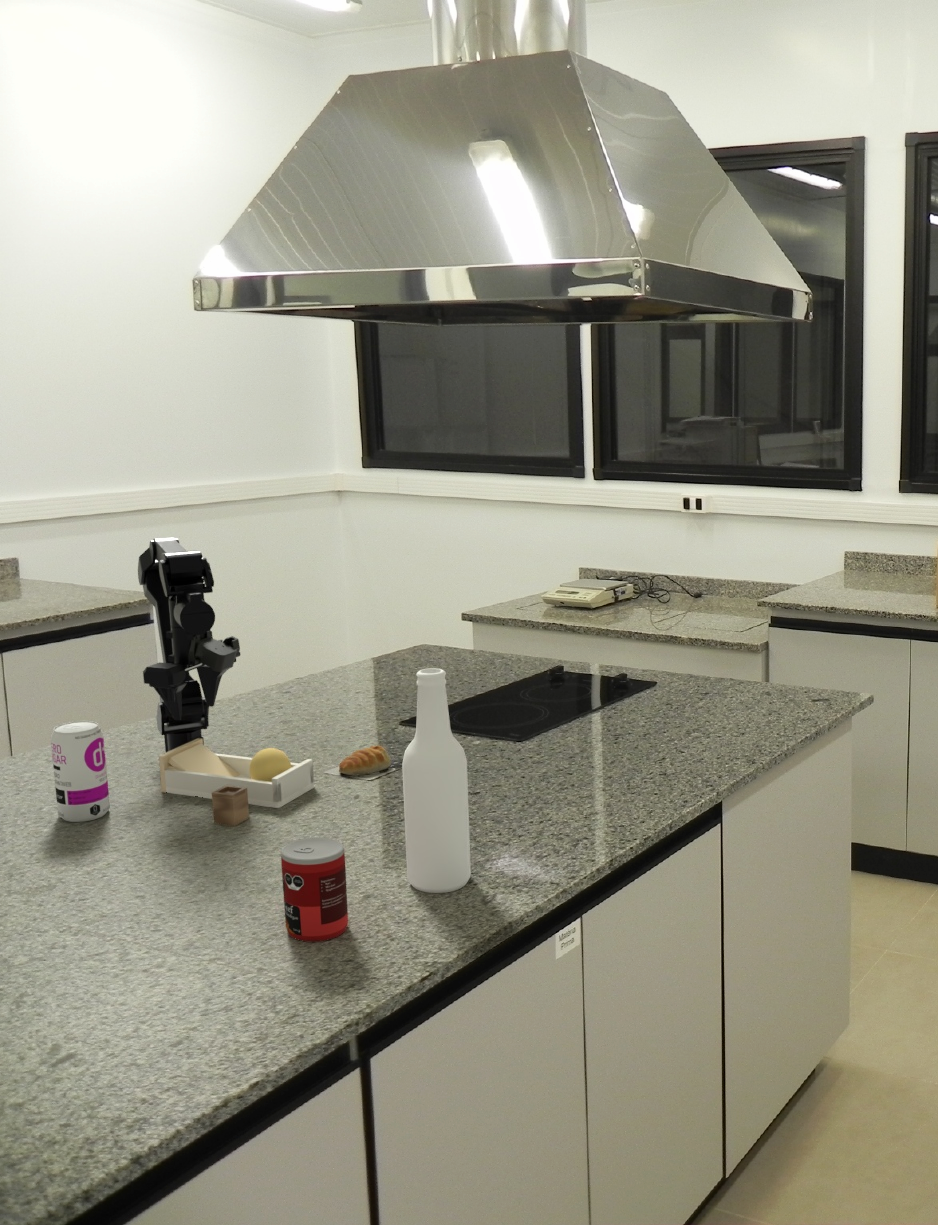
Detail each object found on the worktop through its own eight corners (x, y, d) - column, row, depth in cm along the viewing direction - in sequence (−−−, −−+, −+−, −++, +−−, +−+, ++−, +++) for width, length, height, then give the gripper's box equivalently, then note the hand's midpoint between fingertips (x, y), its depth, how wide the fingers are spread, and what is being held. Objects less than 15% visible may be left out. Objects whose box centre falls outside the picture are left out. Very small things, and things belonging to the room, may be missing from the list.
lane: (161, 791, 210) (158, 755, 209) (200, 772, 220) (198, 738, 219) (278, 808, 200) (276, 770, 199) (314, 787, 210) (312, 751, 209)
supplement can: (120, 808, 203) (112, 721, 200) (89, 825, 195) (81, 735, 192) (79, 804, 206) (71, 718, 203) (47, 821, 198) (38, 732, 195)
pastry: (354, 781, 214) (353, 760, 213) (330, 773, 218) (328, 753, 218) (394, 767, 220) (393, 747, 219) (369, 760, 225) (368, 740, 224)
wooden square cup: (213, 823, 194) (211, 792, 193) (228, 814, 198) (226, 784, 197) (234, 826, 193) (232, 795, 192) (249, 817, 196) (247, 787, 195)
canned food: (287, 918, 159) (282, 838, 157) (349, 914, 159) (344, 835, 157) (283, 945, 151) (278, 861, 149) (348, 940, 152) (343, 857, 150)
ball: (257, 798, 203) (246, 758, 202) (254, 790, 209) (243, 752, 209) (297, 785, 204) (287, 746, 204) (293, 779, 211) (283, 740, 210)
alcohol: (406, 871, 173) (397, 665, 167) (468, 867, 174) (461, 662, 168) (408, 896, 164) (398, 680, 159) (473, 892, 165) (466, 677, 159)
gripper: (192, 638, 196) (199, 731, 199) (258, 616, 213) (264, 703, 216) (137, 634, 201) (145, 725, 204) (206, 613, 218) (212, 698, 221)
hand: (194, 712), depth 211 cm, fingers open, 9 cm apart
